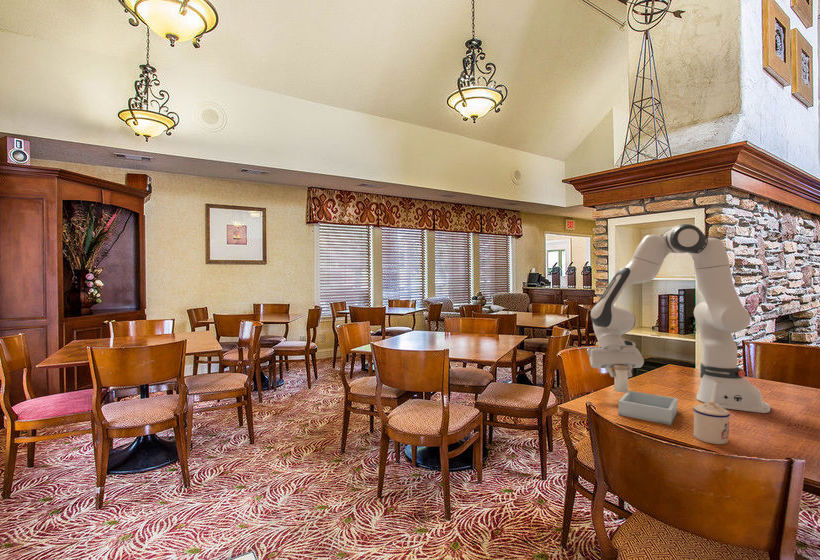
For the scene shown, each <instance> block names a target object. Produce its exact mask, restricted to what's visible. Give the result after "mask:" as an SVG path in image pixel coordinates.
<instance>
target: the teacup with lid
mask: <svg viewBox="0 0 820 560" xmlns="http://www.w3.org/2000/svg"><path fill="white" fill-rule="evenodd" d="M730 416H731V414H730V411H729V409H728V410H727V409H726V408H721V407H720V406H718V405H716V404H715V401H711V400H708V401H707V403H704V402H703V403H702V404H696V405H694V406H693V437H695V438H696V439H698V440H699V441H702V442H704V443H709V444H712V445H713V444H714V445H725V444H726V445H727V444H728V442H729V436H730V435H729V427H730V426H729V425H730V424H729V423H730V421H729V420H730Z"/></svg>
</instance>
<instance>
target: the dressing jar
mask: <svg viewBox="0 0 820 560" xmlns="http://www.w3.org/2000/svg"><path fill="white" fill-rule="evenodd" d="M613 371H615V373H616V376H615V377H613V378H614V380H613V381H614V387H613V388H614V391H615V392H617V393H627V392H628V390H629V377H628V371H629V370H628V366H627V365H623V364H617V365H614V368H613Z"/></svg>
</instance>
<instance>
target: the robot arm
mask: <svg viewBox="0 0 820 560" xmlns="http://www.w3.org/2000/svg"><path fill="white" fill-rule="evenodd" d="M726 249H727V248H726V247H725V245H724V242H723V241H722V240H721V239H719V238H717V237H708V236H706V235H705V233H703V231H702V230H701V229H700V228H699V227H697V226H696V225H693V224H690V223H685V224H684V223H683V224H678V225H674V226H673V227H672V228H669V229H667V230H666V231H665V232H664V233H662V234H653V233H651V234H648V235H645V236H644V237H643V238H642V239H641V241H640V242H639V244H638V245H637V247H636V249H635V250H634V252H633V255H632V256H631V259H630V260H629V262H628V263H627V264H626V265H625V266H624V267H622V268H620V269H618V270H617V272H616V273H615V274H614V276H613V278H612V279H611V281H610V282H609V283H608V285H607V287H606V288H605V290H604V292H603V293H602V295H601V296H600V297H599V299H598V301H597V302H595V304H594V305H593V306H592V308H591V310H590V312H589V316H590V320H591V322H592V329H593V331H594V334H595V337H596V339H597V344H598V346H590V347H588V348H587V350H586V352H587V355H588V356H589V363H590V367H591V368H594V369H605V371H606V372H607V373H609V375H610V377H611V378H614V377H615V376H616V373H615V371H614V370H612V369H614V365H617V364H623V365H627V366H628V378H631V377H633V374H632V371H633V369H635V368H636V369H638V368H639V369H640V368H642V367H643V365H644V363H645V360H644V357H643V355H642V353H641V352H640V350H639V349H638V348H637V347H636V343H635V342H634V341H632V340H626V339H624V338H621V336H623V335H625V334H627V333H629V332H630V331H631V330H633V329H634V327H635V325H636V316H635V314H634V312H632V311H631V310H628V309H625V308H623V307H618V306H615V303H616V302H617V300H618V299H619V297H620V295H621V293H622V292H623V291H624V290H625V288H627V287H628V286H630V285H635V284H644V283H648V282H651V281H652V280H654V279H655V278H656V277H657V275H658V274H659V272H660V270H661V268H662V265H663V263H664V260H665V259H666V258H667V256H668V255H669V254H671V253H675V254H685V253H686V254H688V255H690V256H691V258H692V260H693V264H694V271H695V277H696V284H697V287H698V290H699V292H701V294H702V296H703V299H704V301H702V302H699V303H698V304H697V305H695V307H694V309H693V316H694V318H695V321H696V322H697V327H698V331H699V333H700V340H701V363H700V367H699V377H700V382H699V387H698V391H697V395H696V397H695V398H696V399H697V400H698V401H700V402H702V403H703V404H704V403H707V401H708V400H711V401H715V404H716V405H718V406H720V407H721V408H724V409H726V410H727V409H728V410H736V411H737V410H738V411H744V412H752V413H761V414H766V413H770V411H771V406H770V404H769V403H767V402H766V401H764V399H763V395H762V393H761V392H762V391H760V389H759V388H758V387H756V386H755V385H754V384H752V383H751V382H749V381H748V379H746V378H744V377H745V376H746V372H745V370H744V369H743V368H741V367H739V366H738V346H737V344H736V342H735V340H734V338H733V334H732V333H737V332H741V331H744V330H745V329H747V328H748V327H749V325H750V322H751V315H750V313H749V311H748V310H747V309H746V308H745V307H744V305H743V303H742V302H741V300H740V297H739V295H738V293H737V291H736V288H735V285H734V282H733V276H732V271H731V266H730V260H729V256H728V253H727V250H726Z"/></svg>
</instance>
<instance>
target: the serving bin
mask: <svg viewBox="0 0 820 560" xmlns="http://www.w3.org/2000/svg"><path fill="white" fill-rule="evenodd" d="M617 412H618V416H623V417H626V418H633V419H638V420H643V421H648V422H651V423H657V424H658V423H659V424H662V425H668V426H672V425H673V422H674V419H675V418H676V416H677V413H678V398H677V397H671V396H670V397H669V396H664V395H657V394H652V393H648V392H647V393H646V392H640V391H635V390H634V391H633V390H629V389H628V392H625V393H624V394H623V395H622V397H621V398H620V399H619V400H618V410H617Z"/></svg>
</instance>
